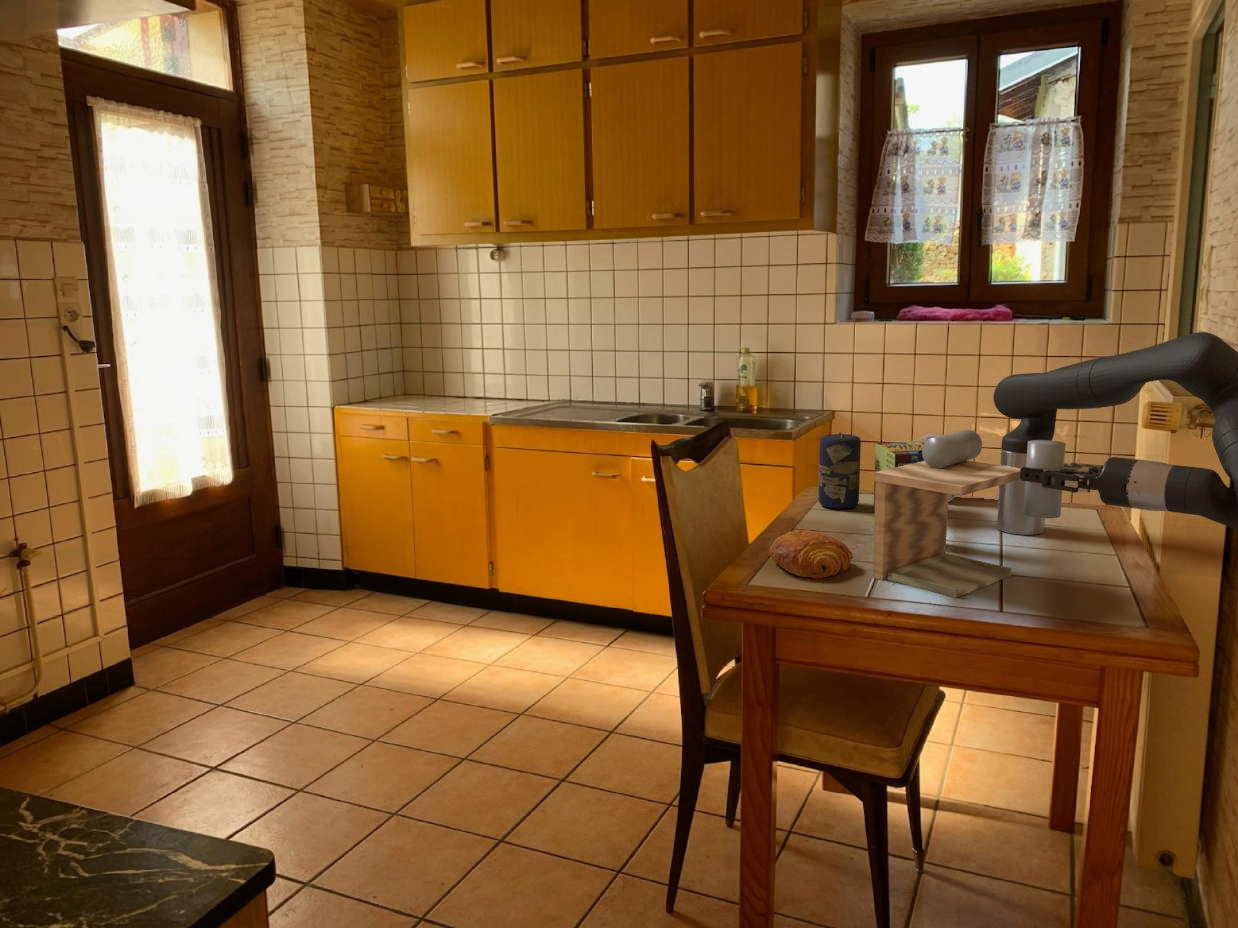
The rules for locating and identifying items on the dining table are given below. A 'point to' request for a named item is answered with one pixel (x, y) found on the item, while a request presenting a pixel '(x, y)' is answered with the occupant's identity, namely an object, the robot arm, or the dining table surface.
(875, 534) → the wooden shelf stand
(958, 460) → the grey lying cylinder
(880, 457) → the protein box
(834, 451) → the canister
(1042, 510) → the grey rounded cylinder
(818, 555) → the croissant
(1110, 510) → the dining table surface
